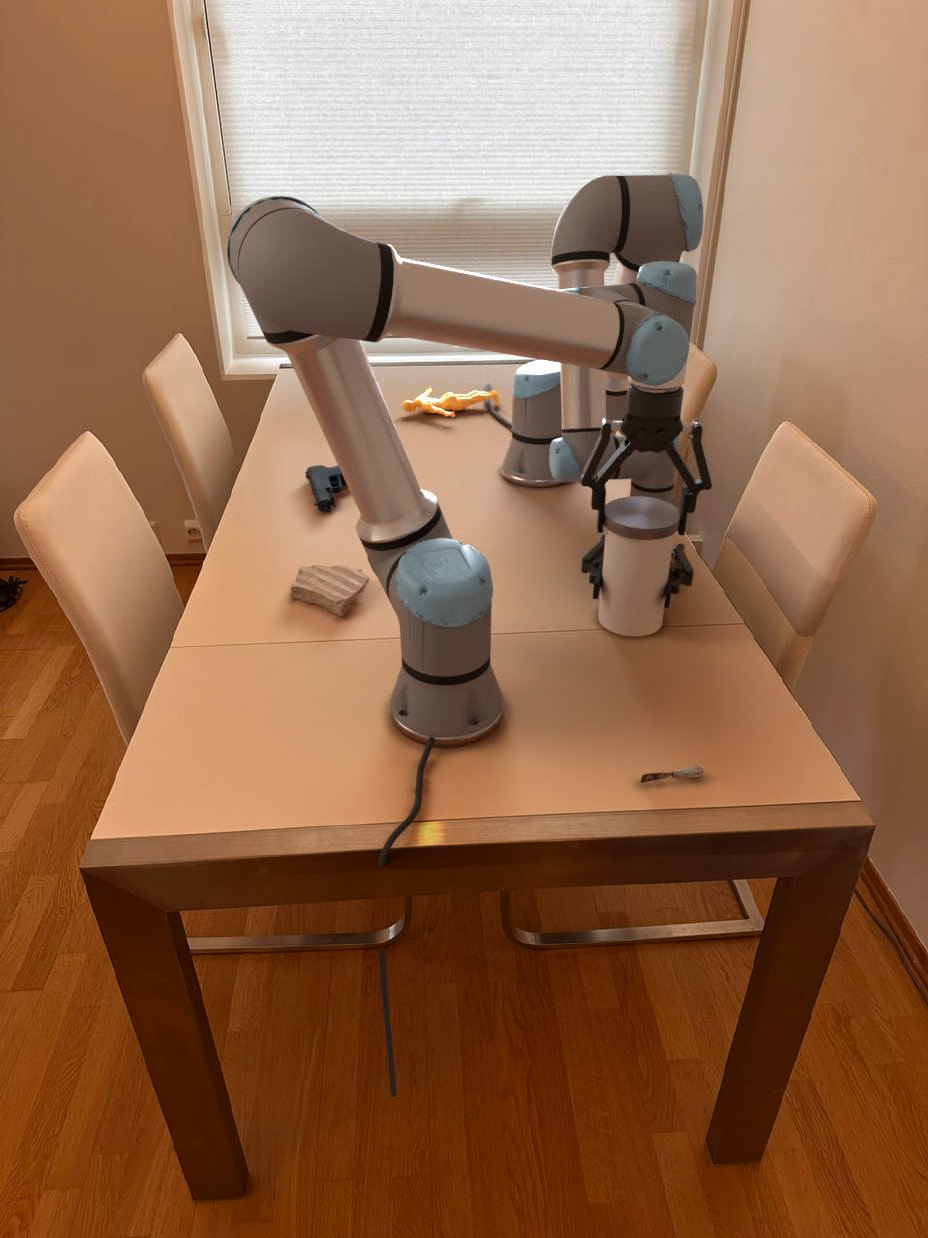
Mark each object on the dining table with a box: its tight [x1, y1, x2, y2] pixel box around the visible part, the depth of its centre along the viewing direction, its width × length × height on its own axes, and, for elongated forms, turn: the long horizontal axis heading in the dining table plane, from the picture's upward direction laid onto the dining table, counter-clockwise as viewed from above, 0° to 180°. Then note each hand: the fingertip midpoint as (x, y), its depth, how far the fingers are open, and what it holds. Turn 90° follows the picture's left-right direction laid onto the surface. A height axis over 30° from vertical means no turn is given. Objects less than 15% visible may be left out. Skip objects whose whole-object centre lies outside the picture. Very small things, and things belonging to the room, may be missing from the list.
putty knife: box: [640, 765, 705, 784], centre depth 109 cm, size 1×8×2 cm, turn 103°
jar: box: [597, 527, 675, 637], centre depth 136 cm, size 10×10×18 cm
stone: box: [289, 564, 370, 617], centre depth 147 cm, size 13×12×2 cm
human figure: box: [402, 385, 500, 418], centre depth 225 cm, size 20×20×4 cm
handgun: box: [304, 464, 348, 513], centre depth 182 cm, size 3×18×12 cm
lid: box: [603, 496, 681, 540], centre depth 132 cm, size 11×11×2 cm
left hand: (639, 530), depth 133 cm, fingers closed on lid, 11 cm apart
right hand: (631, 595), depth 134 cm, fingers closed on jar, 10 cm apart
